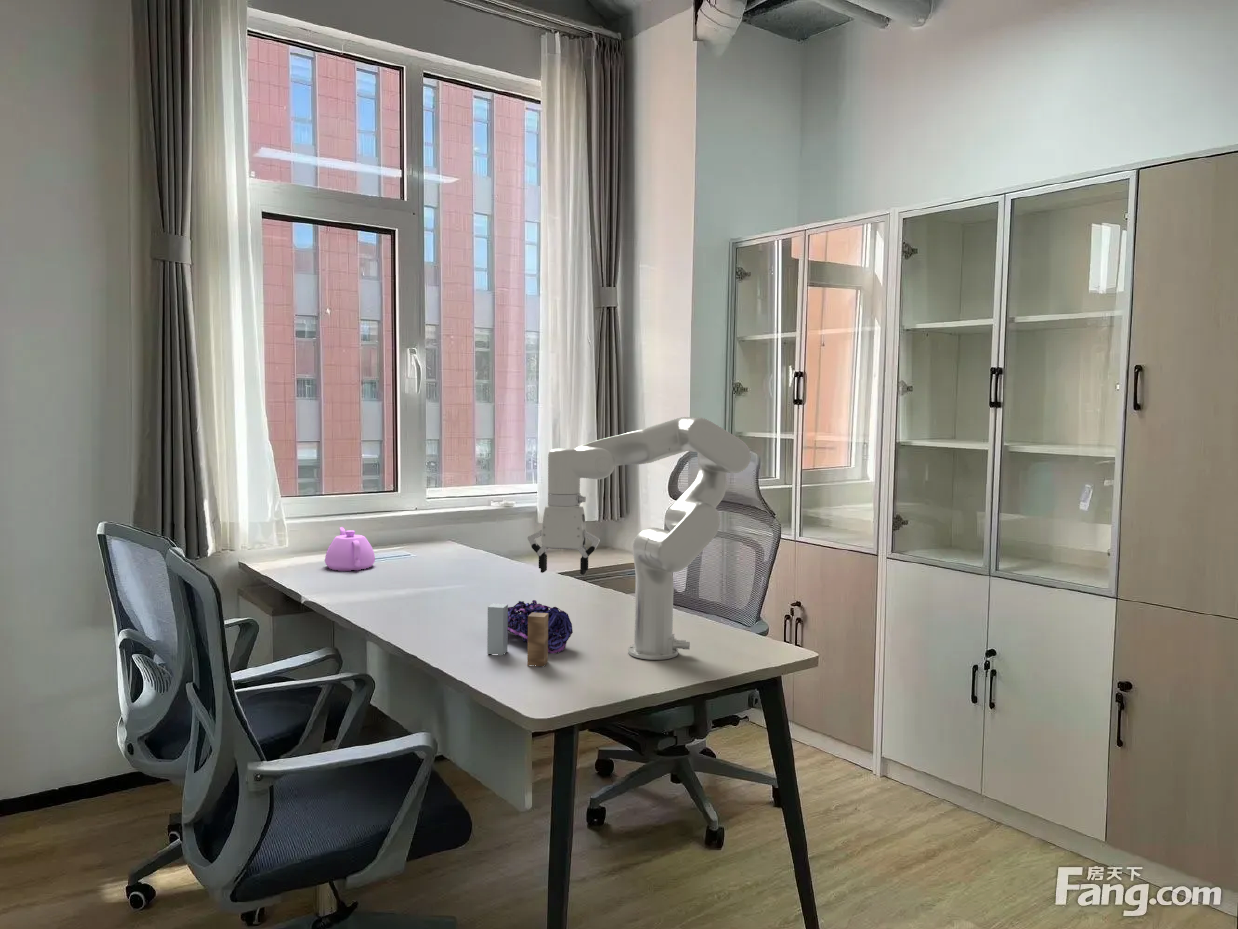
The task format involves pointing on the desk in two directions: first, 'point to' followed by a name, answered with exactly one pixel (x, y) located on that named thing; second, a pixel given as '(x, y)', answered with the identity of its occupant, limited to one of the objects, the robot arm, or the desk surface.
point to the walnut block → (537, 639)
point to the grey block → (497, 629)
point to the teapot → (349, 552)
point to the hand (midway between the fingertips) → (563, 572)
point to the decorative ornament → (556, 624)
